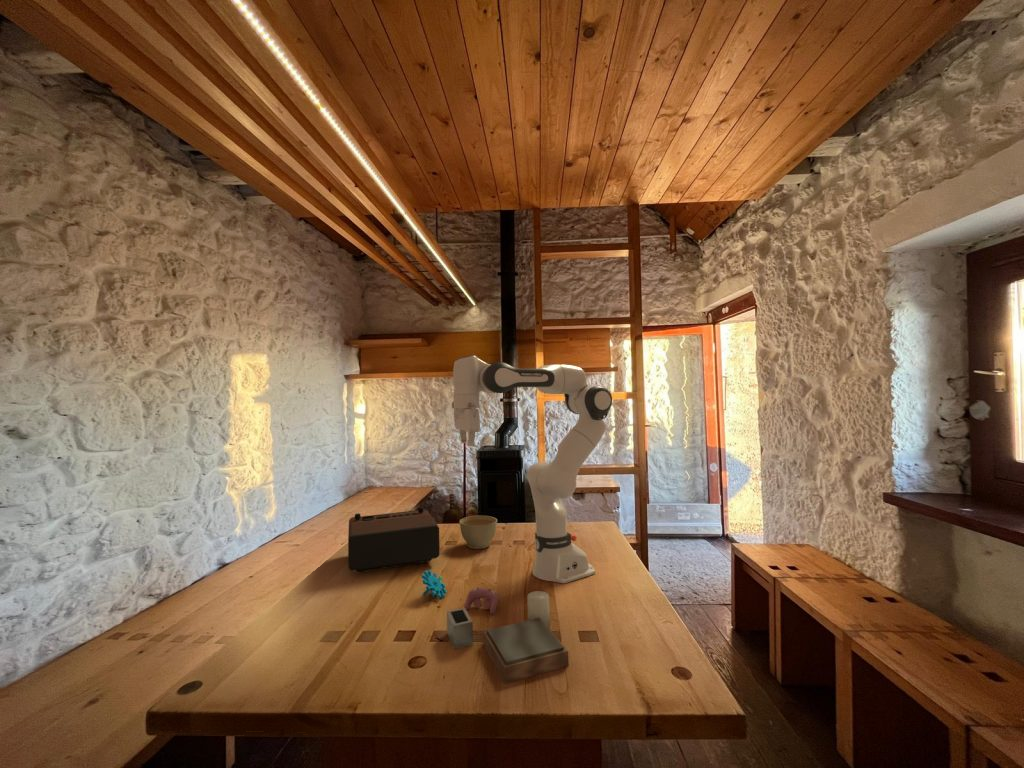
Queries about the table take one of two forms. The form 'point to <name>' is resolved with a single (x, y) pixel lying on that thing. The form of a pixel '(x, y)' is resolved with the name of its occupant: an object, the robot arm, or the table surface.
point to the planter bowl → (478, 530)
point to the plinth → (524, 649)
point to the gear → (433, 584)
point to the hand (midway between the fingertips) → (467, 444)
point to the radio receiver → (392, 540)
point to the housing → (459, 628)
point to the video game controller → (482, 593)
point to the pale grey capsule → (539, 607)
